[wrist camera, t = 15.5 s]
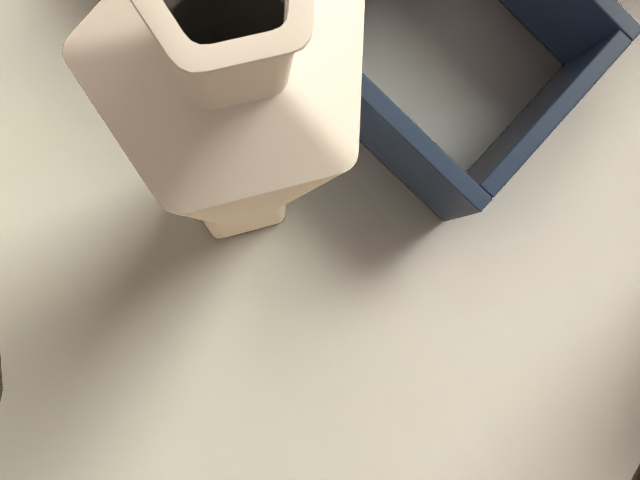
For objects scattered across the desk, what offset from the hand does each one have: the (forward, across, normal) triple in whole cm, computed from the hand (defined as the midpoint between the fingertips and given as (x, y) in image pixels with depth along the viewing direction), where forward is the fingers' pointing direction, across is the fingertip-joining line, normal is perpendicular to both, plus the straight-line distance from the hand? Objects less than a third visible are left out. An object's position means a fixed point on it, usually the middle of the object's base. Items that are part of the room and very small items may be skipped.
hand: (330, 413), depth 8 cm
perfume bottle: (+14, +3, +2) cm, 14 cm away
